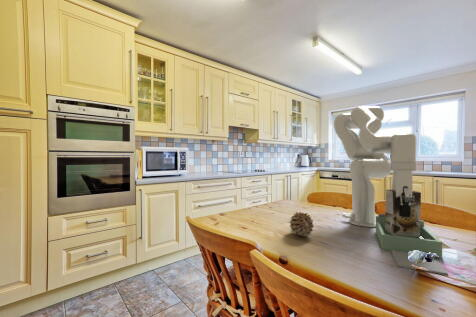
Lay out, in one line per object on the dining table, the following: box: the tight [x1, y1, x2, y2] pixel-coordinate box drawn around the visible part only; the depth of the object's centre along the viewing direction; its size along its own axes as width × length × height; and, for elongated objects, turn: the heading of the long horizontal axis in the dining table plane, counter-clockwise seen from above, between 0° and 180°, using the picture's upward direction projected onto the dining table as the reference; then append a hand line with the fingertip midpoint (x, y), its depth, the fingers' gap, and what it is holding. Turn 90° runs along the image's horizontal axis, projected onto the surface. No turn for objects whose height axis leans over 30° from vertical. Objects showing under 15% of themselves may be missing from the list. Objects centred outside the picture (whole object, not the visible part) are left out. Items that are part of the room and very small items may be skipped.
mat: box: [390, 250, 449, 276], centre depth 67 cm, size 11×12×1 cm
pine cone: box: [289, 211, 315, 237], centre depth 94 cm, size 22×10×10 cm, turn 175°
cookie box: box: [384, 189, 422, 237], centre depth 83 cm, size 9×6×16 cm
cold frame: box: [375, 213, 443, 259], centre depth 82 cm, size 16×20×8 cm
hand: (402, 213), depth 83 cm, fingers closed on cookie box, 7 cm apart
